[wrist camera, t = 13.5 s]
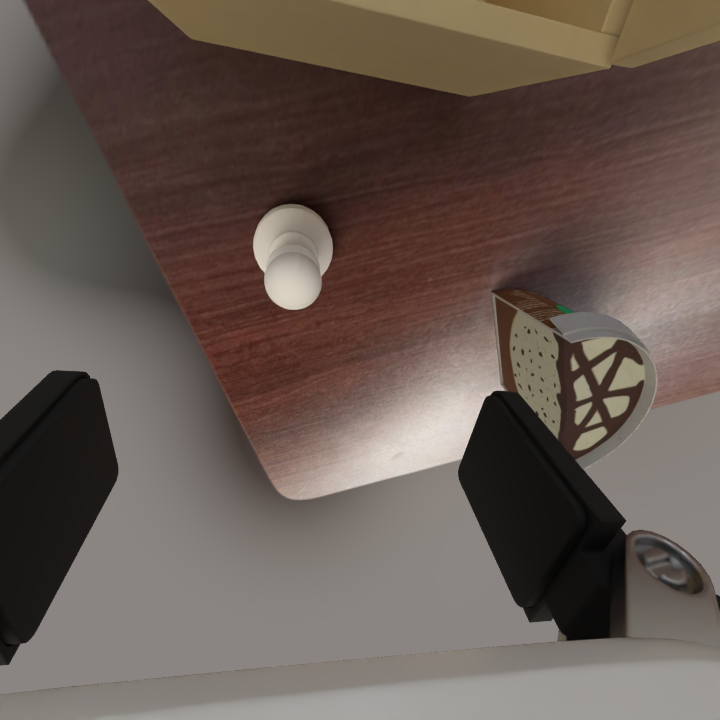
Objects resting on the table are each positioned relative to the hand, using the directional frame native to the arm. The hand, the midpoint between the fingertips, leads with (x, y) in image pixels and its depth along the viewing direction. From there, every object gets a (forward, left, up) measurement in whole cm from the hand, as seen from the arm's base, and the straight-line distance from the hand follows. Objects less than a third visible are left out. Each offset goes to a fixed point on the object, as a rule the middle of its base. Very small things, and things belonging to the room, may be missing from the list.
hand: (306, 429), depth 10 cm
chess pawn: (0, 0, -19) cm, 19 cm away
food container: (+20, -5, -19) cm, 28 cm away
